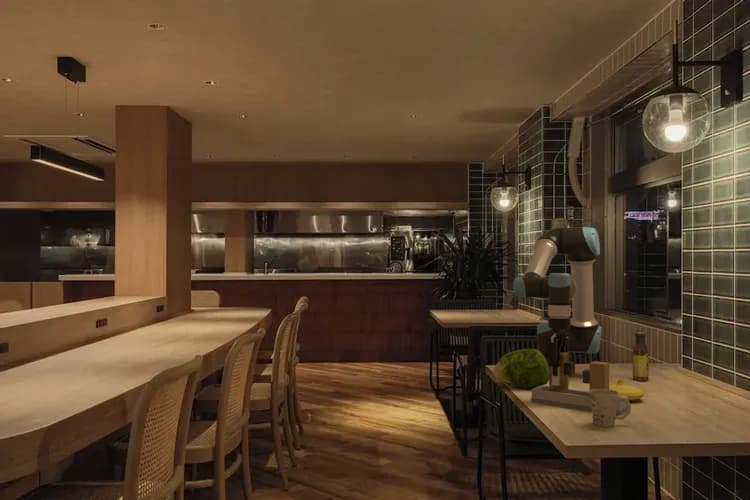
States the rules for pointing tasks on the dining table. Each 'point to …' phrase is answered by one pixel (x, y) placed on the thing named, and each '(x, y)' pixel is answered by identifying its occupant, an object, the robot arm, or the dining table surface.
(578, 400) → the brown blocky pieces
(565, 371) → the brown tall block
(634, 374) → the sauce bottle
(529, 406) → the dining table surface
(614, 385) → the yellow curved piece
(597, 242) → the robot arm
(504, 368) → the lettuce
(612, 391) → the mug
